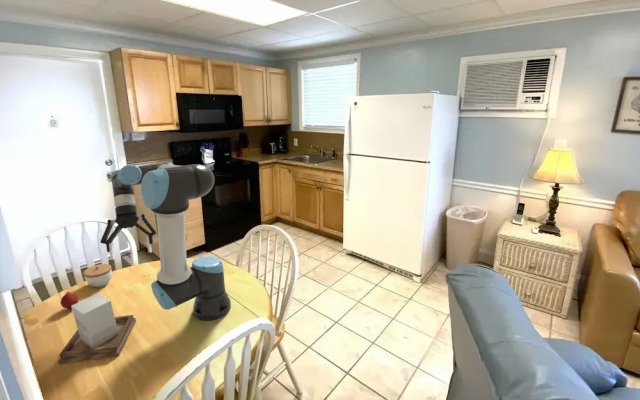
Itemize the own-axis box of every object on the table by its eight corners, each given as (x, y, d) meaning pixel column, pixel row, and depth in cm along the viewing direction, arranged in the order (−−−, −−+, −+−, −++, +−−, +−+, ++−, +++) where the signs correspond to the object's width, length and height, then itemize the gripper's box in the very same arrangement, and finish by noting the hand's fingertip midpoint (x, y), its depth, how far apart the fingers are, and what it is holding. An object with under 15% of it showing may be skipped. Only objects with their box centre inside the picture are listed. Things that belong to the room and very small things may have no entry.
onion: (70, 313, 128) (66, 297, 125) (59, 311, 129) (54, 295, 126) (83, 305, 133) (79, 289, 131) (72, 303, 134) (68, 287, 132)
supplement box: (106, 325, 120) (98, 292, 115) (119, 334, 115) (111, 300, 111) (79, 340, 112) (70, 305, 108) (92, 350, 108) (82, 314, 103)
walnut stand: (136, 321, 124) (134, 313, 123) (119, 355, 108) (117, 347, 107) (85, 327, 120) (83, 319, 119) (59, 364, 104) (56, 355, 103)
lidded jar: (88, 293, 142) (83, 275, 139) (86, 282, 149) (82, 265, 146) (115, 284, 148) (111, 267, 145) (112, 275, 156) (108, 258, 153)
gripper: (159, 203, 139) (166, 249, 136) (94, 213, 131) (100, 263, 128) (156, 199, 132) (163, 248, 129) (87, 209, 124) (92, 262, 121)
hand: (131, 255), depth 128 cm, fingers open, 13 cm apart
